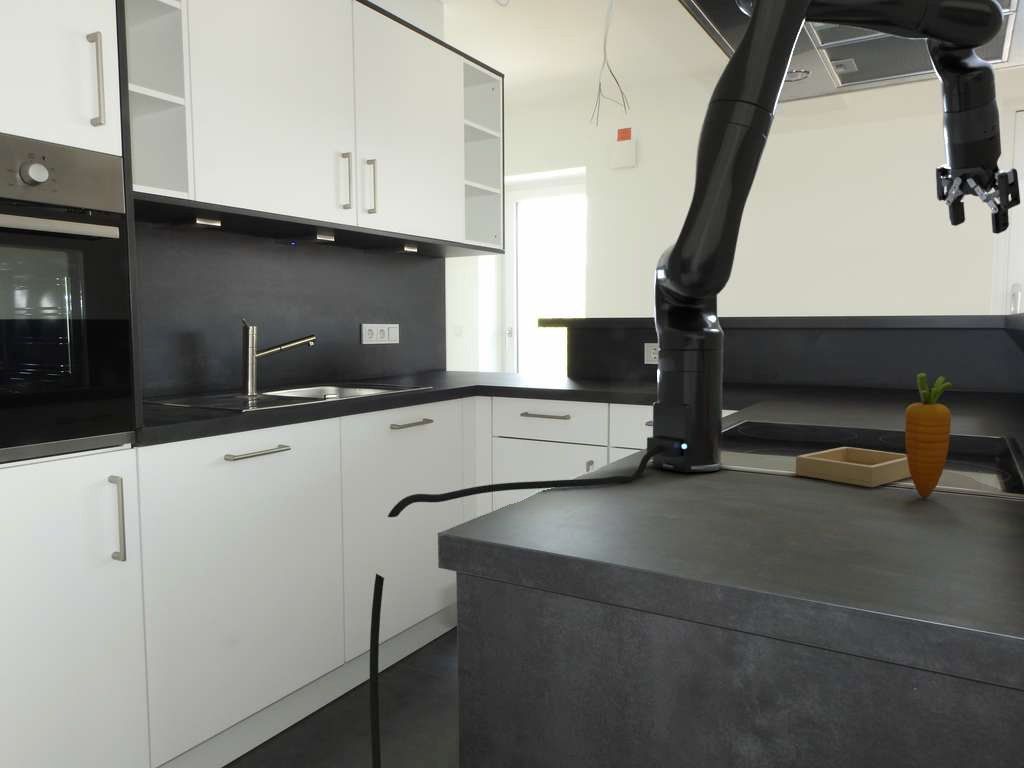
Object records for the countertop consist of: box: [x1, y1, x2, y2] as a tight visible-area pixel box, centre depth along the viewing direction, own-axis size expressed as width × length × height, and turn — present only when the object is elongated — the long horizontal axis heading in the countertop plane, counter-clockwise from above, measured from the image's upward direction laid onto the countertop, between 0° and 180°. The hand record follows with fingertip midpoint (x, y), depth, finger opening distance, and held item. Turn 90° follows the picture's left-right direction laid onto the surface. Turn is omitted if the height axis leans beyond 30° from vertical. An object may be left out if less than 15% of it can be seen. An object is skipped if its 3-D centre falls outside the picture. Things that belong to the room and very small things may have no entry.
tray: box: [795, 446, 912, 488], centre depth 100 cm, size 14×11×3 cm
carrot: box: [904, 372, 953, 500], centre depth 85 cm, size 5×5×15 cm
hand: (978, 227), depth 121 cm, fingers open, 8 cm apart
